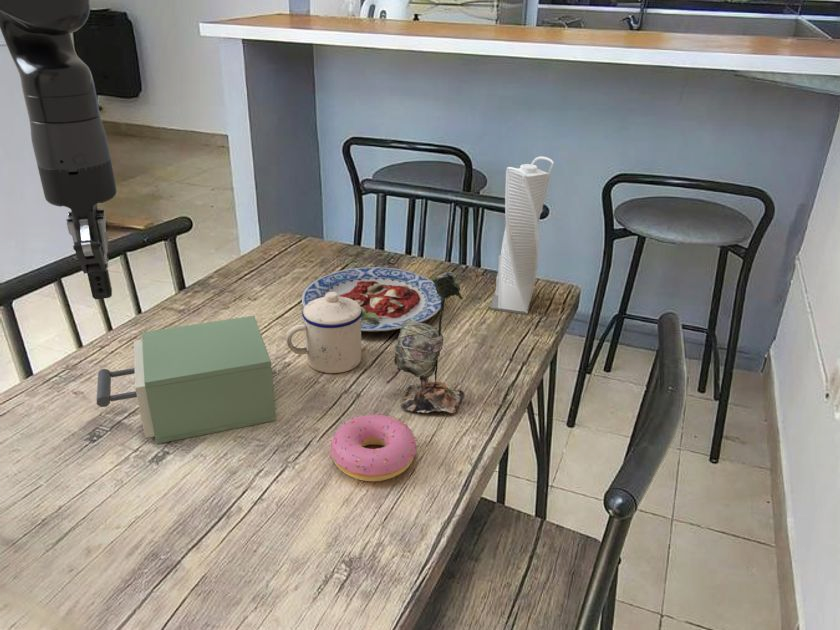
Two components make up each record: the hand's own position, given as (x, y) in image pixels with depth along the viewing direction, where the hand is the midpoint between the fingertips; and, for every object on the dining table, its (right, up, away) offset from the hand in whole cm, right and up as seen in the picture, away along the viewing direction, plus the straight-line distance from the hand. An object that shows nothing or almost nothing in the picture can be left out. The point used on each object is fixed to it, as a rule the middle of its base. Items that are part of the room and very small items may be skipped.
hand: (102, 296), depth 84 cm
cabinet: (+10, -15, +12) cm, 22 cm away
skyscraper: (+57, -1, +43) cm, 71 cm away
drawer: (+6, -15, +11) cm, 19 cm away
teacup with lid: (+24, -10, +23) cm, 35 cm away
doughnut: (+33, -21, +3) cm, 40 cm away
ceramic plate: (+31, -1, +41) cm, 51 cm away
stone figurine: (+40, -15, +15) cm, 45 cm away
